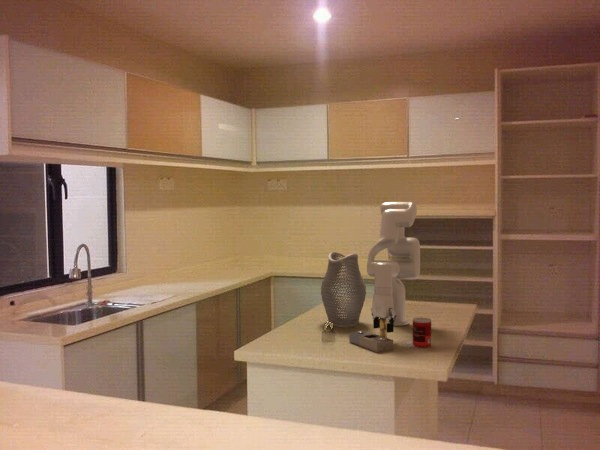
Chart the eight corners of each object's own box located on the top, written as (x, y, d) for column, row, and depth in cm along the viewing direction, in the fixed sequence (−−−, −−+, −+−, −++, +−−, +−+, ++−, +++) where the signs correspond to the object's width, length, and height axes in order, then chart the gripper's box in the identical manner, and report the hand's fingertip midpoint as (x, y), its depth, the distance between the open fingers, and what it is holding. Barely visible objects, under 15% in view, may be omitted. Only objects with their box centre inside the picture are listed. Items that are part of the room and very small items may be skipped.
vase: (313, 325, 282) (312, 254, 281) (332, 317, 302) (331, 250, 300) (355, 330, 272) (355, 255, 270) (372, 321, 291) (372, 251, 290)
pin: (378, 339, 253) (378, 316, 253) (384, 338, 255) (384, 316, 255) (382, 341, 251) (382, 318, 250) (388, 340, 252) (388, 317, 252)
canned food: (428, 342, 247) (428, 317, 246) (433, 347, 239) (433, 321, 238) (410, 343, 246) (410, 317, 246) (415, 348, 238) (415, 321, 238)
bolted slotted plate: (349, 342, 249) (349, 331, 249) (364, 339, 253) (364, 329, 253) (376, 352, 232) (376, 341, 231) (393, 350, 235) (393, 338, 235)
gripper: (364, 289, 258) (364, 327, 258) (388, 294, 242) (388, 334, 243) (378, 288, 261) (378, 325, 262) (402, 292, 246) (402, 333, 246)
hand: (383, 330), depth 252 cm, fingers open, 9 cm apart
